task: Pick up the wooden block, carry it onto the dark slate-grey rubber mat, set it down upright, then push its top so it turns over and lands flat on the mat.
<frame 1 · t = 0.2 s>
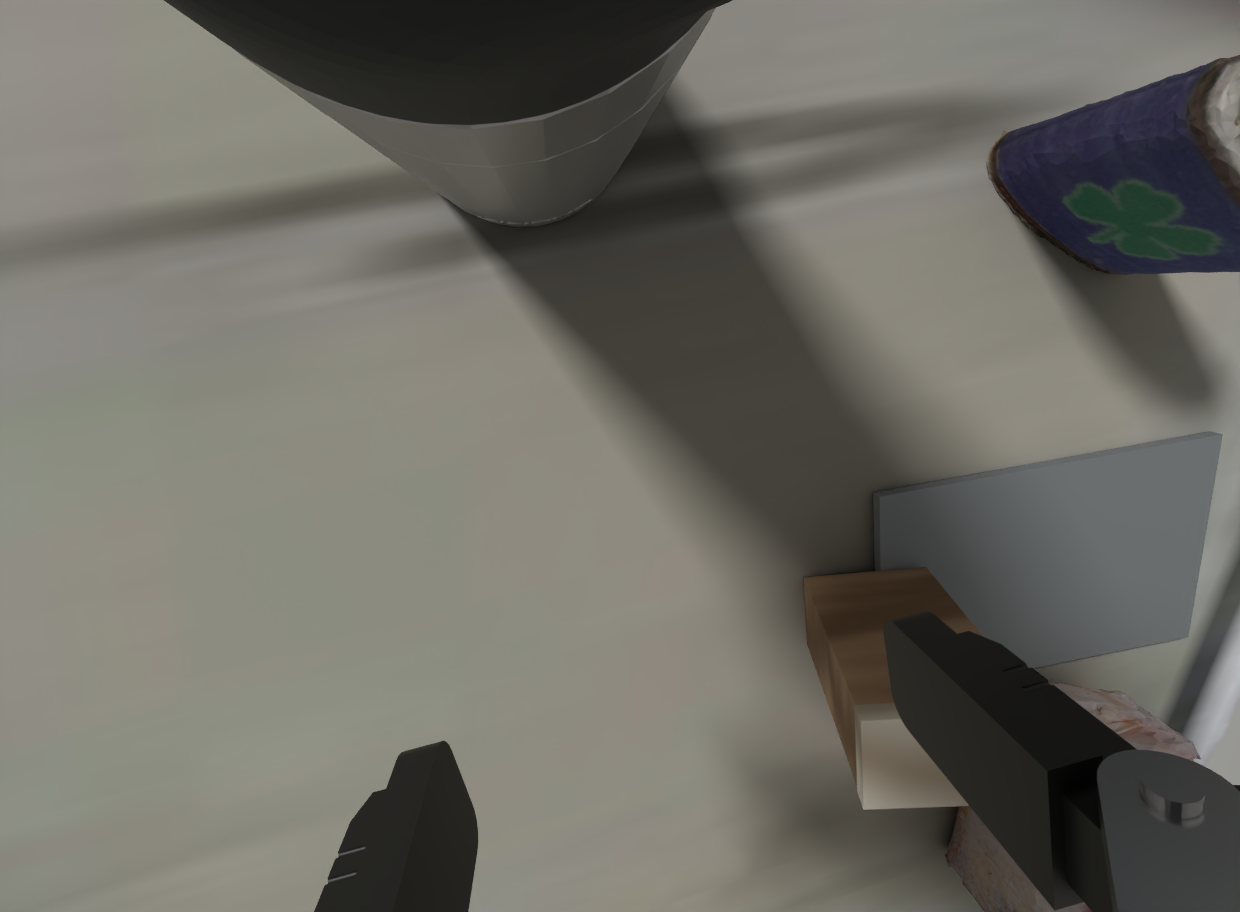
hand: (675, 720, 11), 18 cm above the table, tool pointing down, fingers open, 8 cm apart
mat: (1036, 566, 32), on the table
flask: (1059, 207, 27), on the table
wooden block: (864, 606, 31), point 1 cm above the table, tilted 11°
food item: (1007, 758, 36), on the table
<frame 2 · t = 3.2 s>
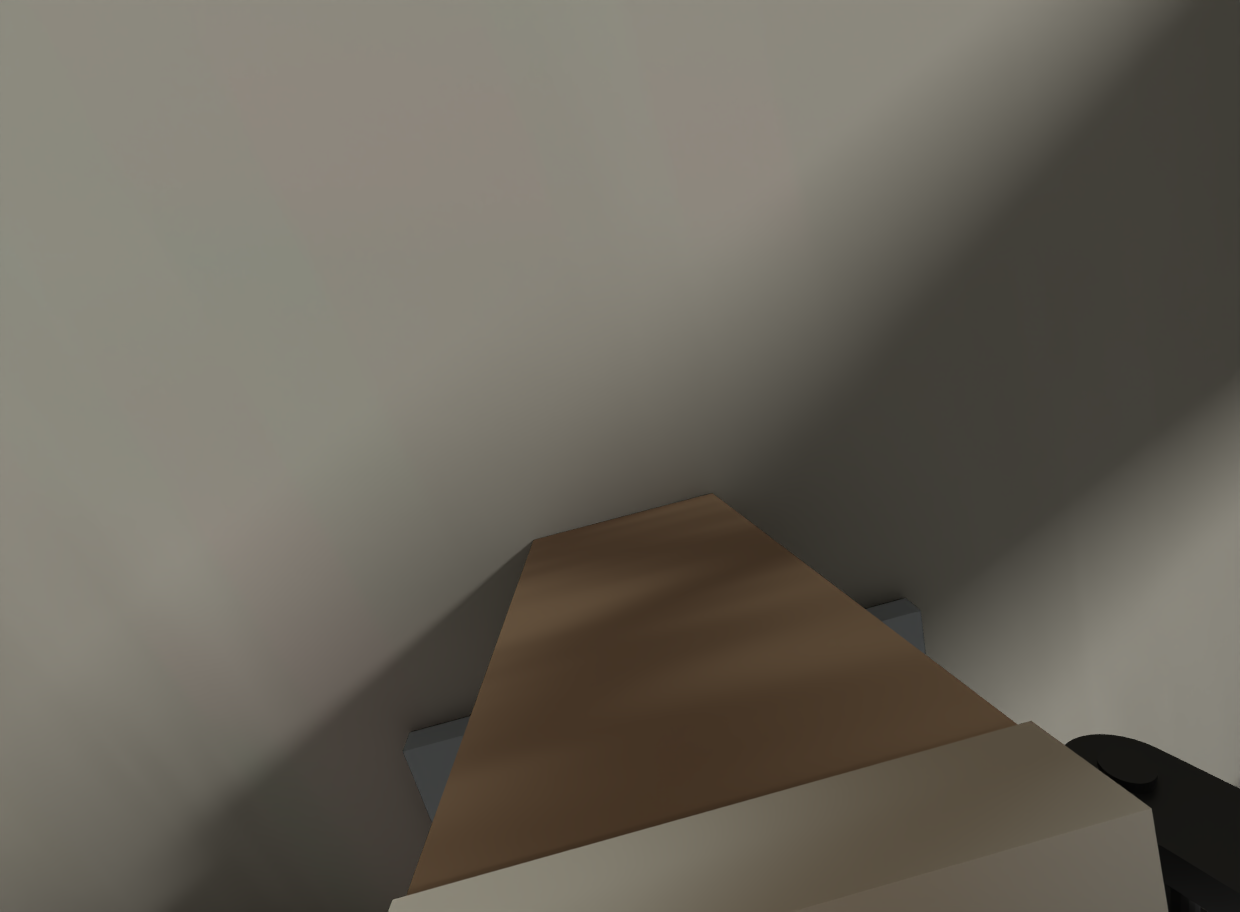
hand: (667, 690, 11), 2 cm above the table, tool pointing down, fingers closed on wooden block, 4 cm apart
wooden block: (656, 644, 13), on the table, tilted 9°, touching gripper, mat
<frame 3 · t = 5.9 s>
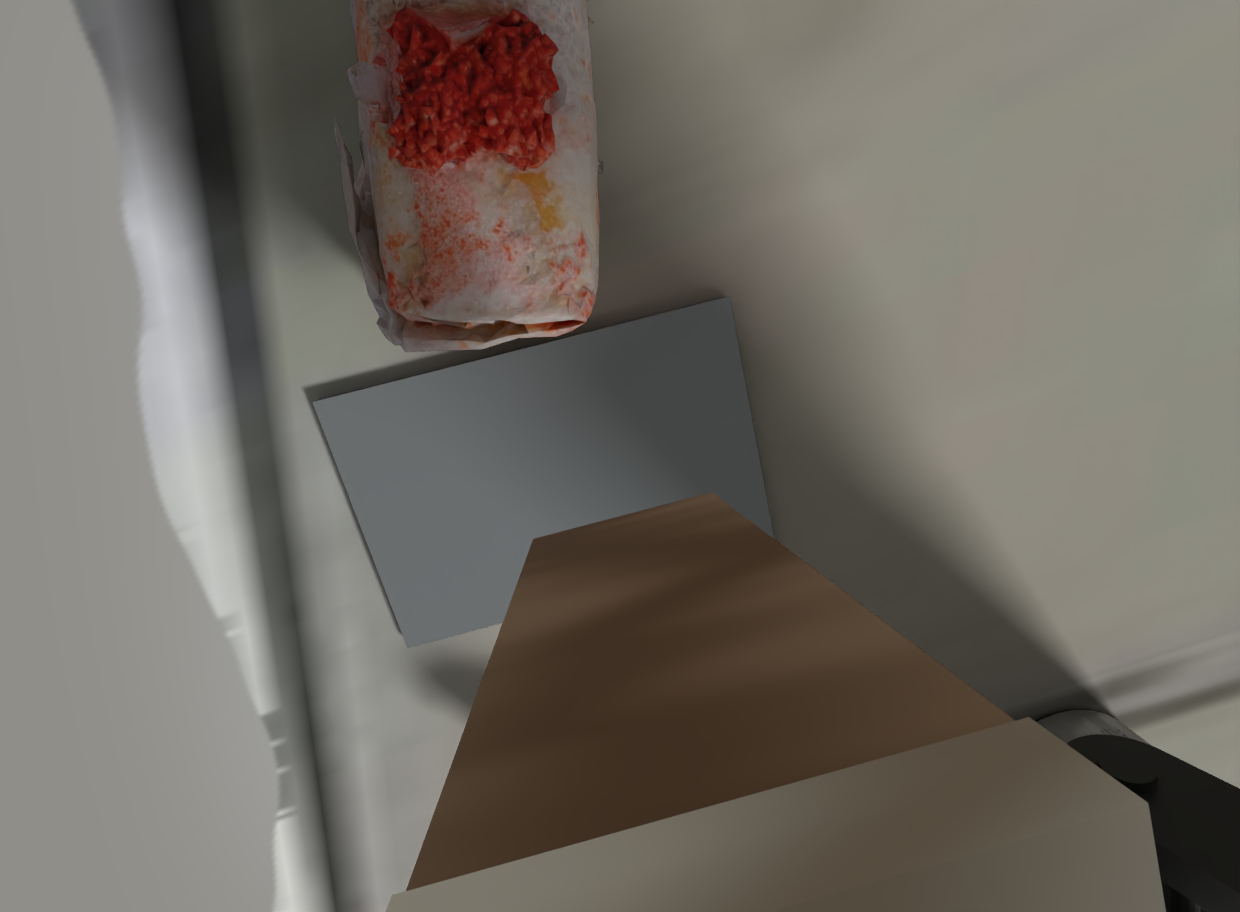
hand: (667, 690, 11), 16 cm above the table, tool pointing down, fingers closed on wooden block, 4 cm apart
mat: (560, 477, 27), on the table
wooden block: (655, 643, 13), point 15 cm above the table, tilted 9°, touching gripper
food item: (494, 165, 24), on the table
when the fingers open (4 cm above the table, at t = 8.4 s): wooden block drops 1 cm, resting on mat.
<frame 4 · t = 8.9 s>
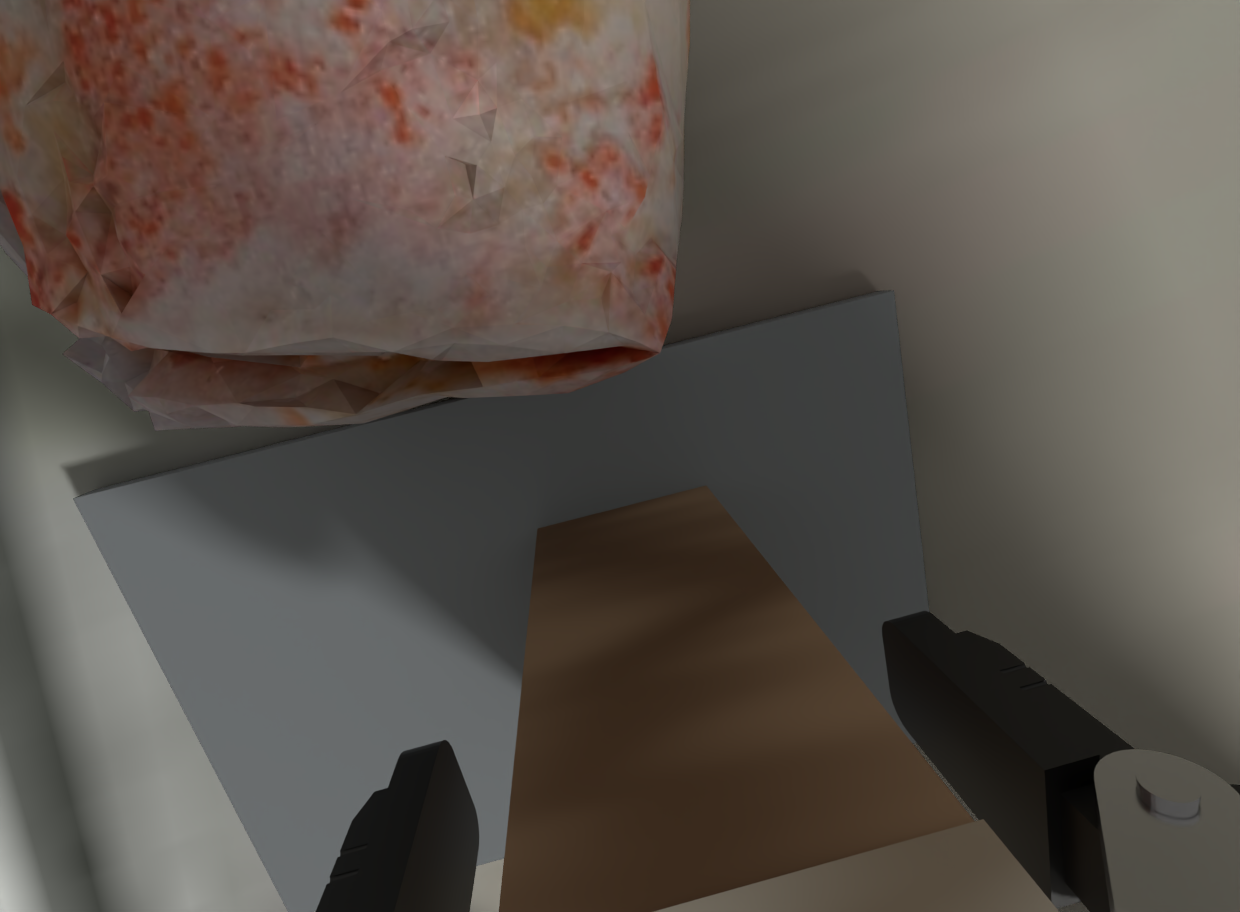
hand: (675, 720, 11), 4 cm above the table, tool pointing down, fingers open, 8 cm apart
mat: (565, 619, 15), on the table
wooden block: (650, 619, 14), point 1 cm above the table, touching mat
food item: (435, 16, 12), on the table
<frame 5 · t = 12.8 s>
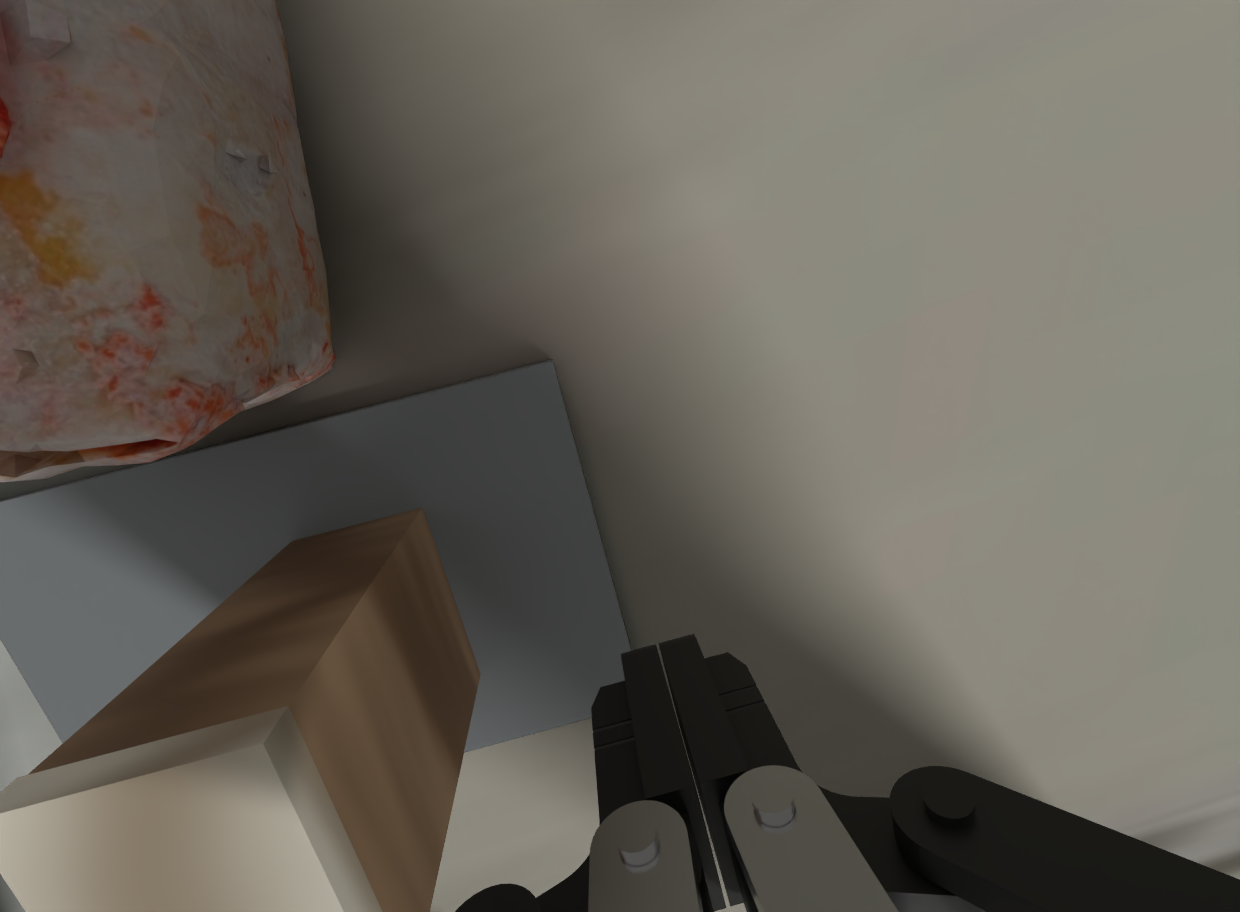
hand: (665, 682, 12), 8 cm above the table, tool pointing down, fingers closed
mat: (330, 611, 19), on the table
wooden block: (390, 610, 19), point 1 cm above the table, touching mat
food item: (189, 163, 16), on the table
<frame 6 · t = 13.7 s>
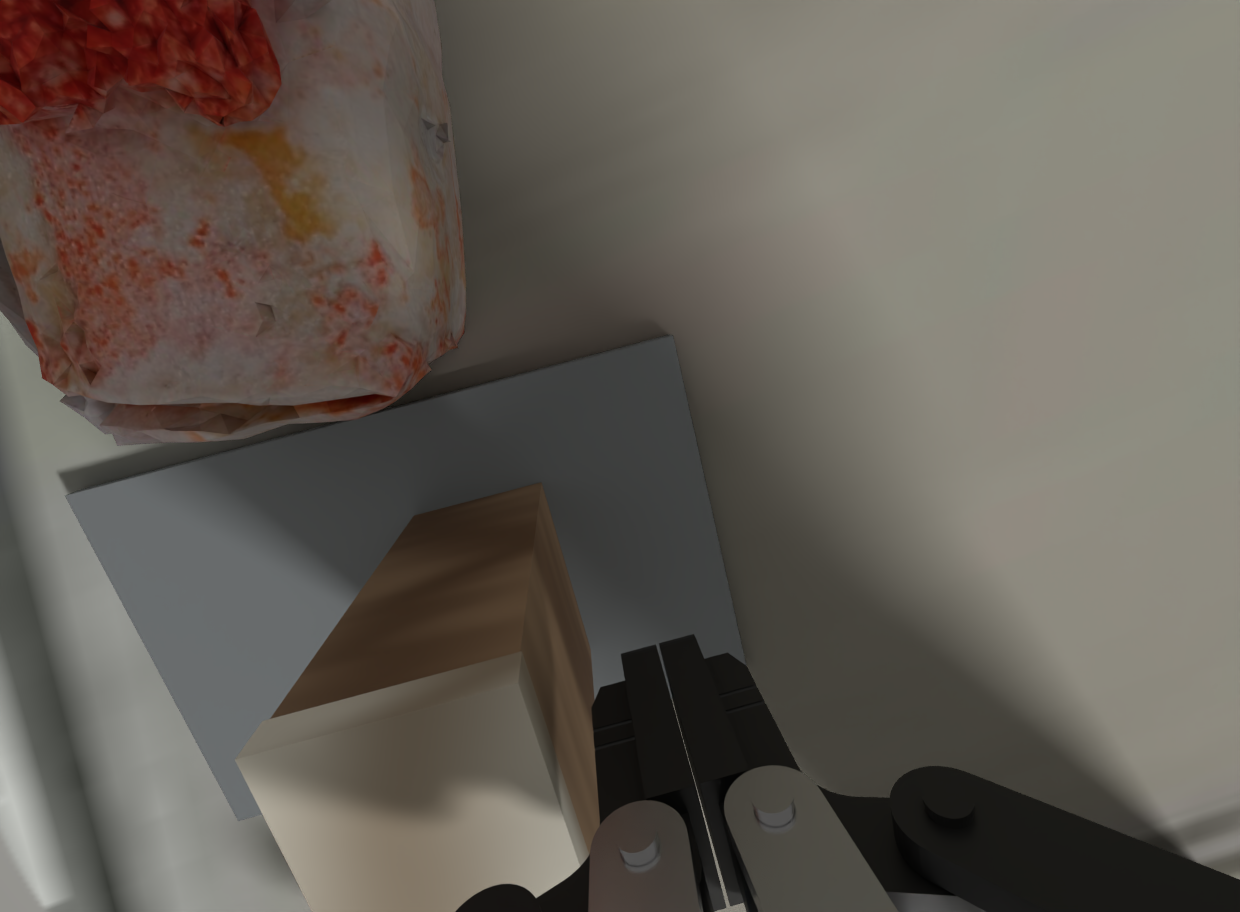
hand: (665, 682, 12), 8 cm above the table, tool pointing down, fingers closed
mat: (444, 586, 19), on the table
wooden block: (506, 585, 19), point 1 cm above the table, touching gripper, mat
food item: (325, 141, 16), on the table
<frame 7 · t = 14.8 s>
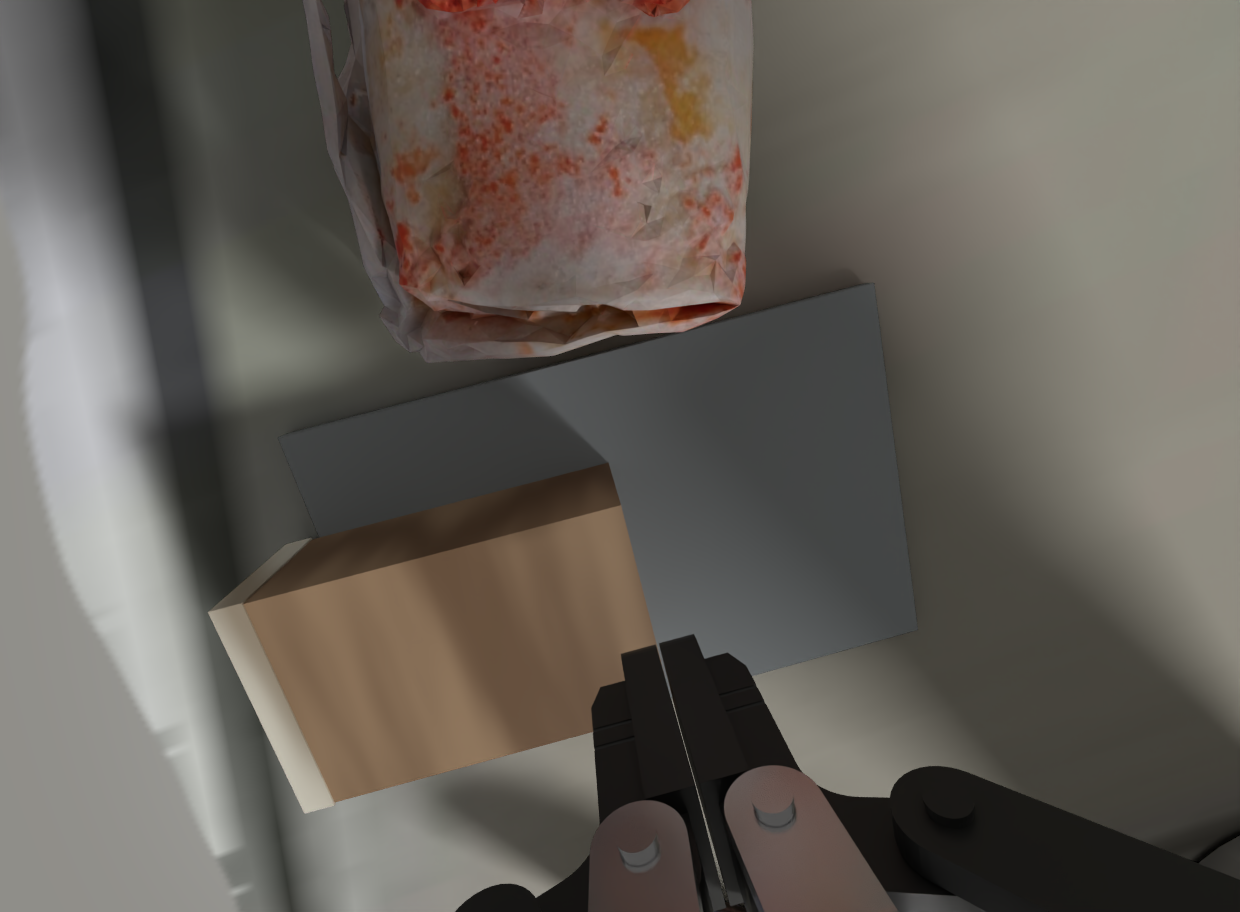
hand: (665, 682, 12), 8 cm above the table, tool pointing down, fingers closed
mat: (626, 536, 20), on the table
wooden block: (638, 577, 17), point 3 cm above the table, tilted 90°, touching mat
food item: (547, 84, 16), on the table
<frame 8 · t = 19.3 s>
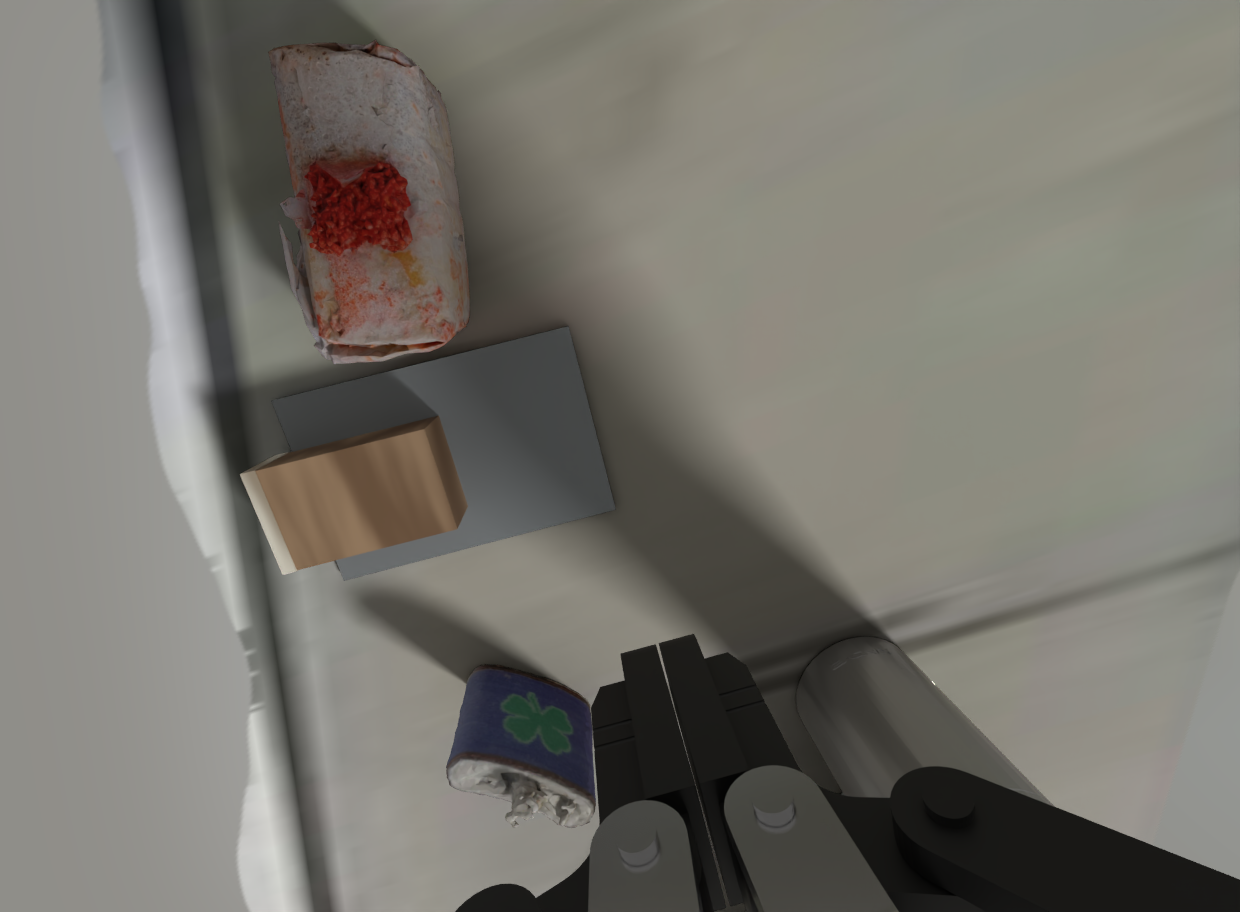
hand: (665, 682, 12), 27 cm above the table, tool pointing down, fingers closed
mat: (454, 455, 37), on the table
flask: (532, 690, 42), on the table
wooden block: (447, 470, 35), point 3 cm above the table, tilted 90°, touching mat
food item: (402, 230, 34), on the table
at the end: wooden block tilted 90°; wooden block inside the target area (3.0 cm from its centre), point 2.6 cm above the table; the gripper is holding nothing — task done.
